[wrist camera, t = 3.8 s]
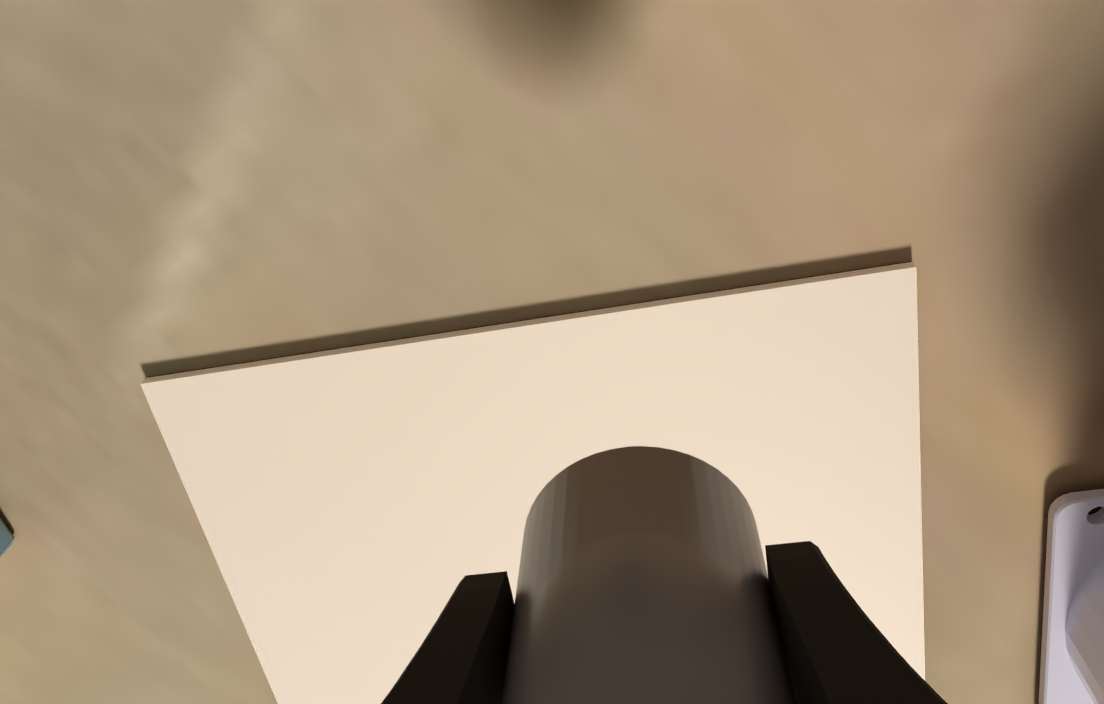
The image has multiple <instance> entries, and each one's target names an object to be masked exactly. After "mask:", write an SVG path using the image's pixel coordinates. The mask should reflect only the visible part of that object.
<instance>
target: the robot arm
mask: <svg viewBox="0 0 1104 704" xmlns="http://www.w3.org/2000/svg"><path fill="white" fill-rule="evenodd" d="M1099 506H1100V507H1101V509H1100V510H1099V511H1098V512H1096V513H1094V514H1091V515H1088V512H1089V511H1091V510H1092V509H1093V508H1096V507H1099ZM765 549H766V560H767V572H768V581H769V586H770V590H771V595H772V599H773V603H774V608H775V612H776V617H777V621H778V626H779V630H780V634H781V638H782V642H783V646H784V650H785V654H786V658H787V662H788V667H789V671H790V676H791V680H792V685H793V689H794V693H795V698H796V702H797V704H947V703H946V702H945V701H944V700H943V699H942V698H941V697H940V696H939V695H938V694H937V693H936V692H935V691H934V690H933V689H932V688H931V687H930V686H929V685H928V684H927V682H926V681H925V680H924V679H923V678H922V677H921V676H920V675H919V674H918V673H917V672H916V671H915V670H914V669H913V668H912V667H911V666H910V665H909V664H908V662H907V661H906V660H905V659H904V658H903V657H902V656H901V655H900V654H899V653H898V652H897V650H896V649H895V648H894V647H893V646H892V645H891V643H890V642H889V641H888V640H887V639H886V637H885V636H884V635H883V634H882V633H881V632H880V630H879V629H878V628H877V627H876V626H875V625H874V623H873V622H872V621H871V620H870V619H869V617H868V616H867V615H866V614H865V612H864V611H863V610H862V609H861V607H860V606H859V605H858V604H857V602H856V601H855V600H854V598H853V597H852V596H851V594H850V593H849V592H848V590H847V589H846V588H845V586H844V585H843V584H842V582H841V581H840V579H839V578H838V577H837V575H836V574H835V572H834V571H833V569H832V568H831V566H830V565H829V563H828V562H827V560H826V559H825V557H824V555H823V554H822V552H821V550H820V549H819V547H818V546H816V545H815V544H814V543H812V542H811V541H804V542H794V543H784V544H774V545H765ZM513 611H514V600H513V596H512V591H511V587H510V583H509V579H508V575H507V571H505V572H495V573H485V574H475V575H465V577H464V578H463V579H462V580H461V581H460V582H459V584H458V586H457V587H456V589H455V591H454V592H453V594H452V596H451V597H450V599H449V601H448V602H447V604H446V606H445V607H444V609H443V611H442V612H441V614H440V616H439V617H438V619H437V621H436V622H435V624H434V626H433V627H432V629H431V630H430V632H429V633H428V635H427V637H426V638H425V640H424V641H423V643H422V645H421V646H420V648H419V649H418V651H417V652H416V654H415V655H414V657H413V658H412V660H411V661H410V663H409V664H408V666H407V667H406V668H405V670H404V671H403V673H402V674H401V676H400V677H399V679H398V680H397V682H396V683H395V685H394V686H393V688H392V689H391V690H390V692H389V693H388V695H387V696H386V697H385V699H384V700H383V701H382V703H381V704H501V702H502V695H503V687H504V680H505V672H506V664H507V657H508V649H509V642H510V634H511V626H512V619H513ZM1039 704H1104V489H1097V490H1089V491H1080V492H1072V493H1068V494H1064V495H1062V496H1060V497H1058V498H1057V499H1055V500H1054V502H1053V503H1052V504H1051V505H1050V508H1049V512H1048V530H1047V549H1046V569H1045V589H1044V608H1043V628H1042V648H1041V668H1040V687H1039Z"/></svg>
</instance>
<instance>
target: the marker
mask: <svg viewBox="0 0 1104 704" xmlns="http://www.w3.org/2000/svg"><path fill="white" fill-rule="evenodd" d="M501 704H797V702H796V698H795V693H794V689H793V685H792V680H791V676H790V671H789V667H788V662H787V658H786V654H785V650H784V646H783V642H782V638H781V634H780V630H779V626H778V621H777V617H776V612H775V608H774V603H773V599H772V595H771V590H770V586H769V581H768V574H767V570H766V565H765V561H764V556H763V552H762V547H761V543H760V539H759V534H758V530H757V525H756V521H755V518H754V515H753V512H752V510H751V508H750V506H749V504H748V502H747V500H746V498H745V497H744V495H743V494H742V493H741V491H740V490H739V488H738V487H737V486H736V485H735V484H734V483H733V482H732V481H731V480H730V479H729V478H728V477H727V476H725V475H724V474H723V473H722V472H720V471H719V470H718V469H716V468H715V467H713V466H711V465H710V464H708V463H706V462H705V461H703V460H700V459H698V458H696V457H694V456H691V455H689V454H685V453H682V452H679V451H676V450H671V449H665V448H660V447H647V446H629V447H622V448H616V449H610V450H606V451H603V452H599V453H595V454H593V455H590V456H588V457H585V458H583V459H581V460H579V461H577V462H575V463H573V464H571V465H570V466H568V467H566V468H565V469H564V470H562V471H561V472H560V473H558V474H557V475H556V476H555V477H554V478H553V479H551V480H550V481H549V482H548V483H547V484H546V485H545V487H544V488H543V489H542V490H541V492H540V493H539V494H538V496H537V497H536V499H535V501H534V503H533V504H532V506H531V509H530V511H529V514H528V516H527V519H526V524H525V529H524V535H523V543H522V551H521V558H520V566H519V573H518V581H517V589H516V596H515V604H514V611H513V619H512V626H511V634H510V642H509V649H508V657H507V664H506V672H505V680H504V687H503V695H502V702H501Z"/></svg>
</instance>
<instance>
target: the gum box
mask: <svg viewBox="0 0 1104 704" xmlns="http://www.w3.org/2000/svg"><path fill="white" fill-rule="evenodd" d="M13 540H14V536H13V534H12V533H11V532H10V530H9V529H8V527H7V526H6V525H5V523H4V522H3V520H2V518H1V516H0V557H1V556H2V554H3V553H4V552H5V551H6V550H7V549H8V548H9V547H10V546H11V544H12V542H13Z"/></svg>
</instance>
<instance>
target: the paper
mask: <svg viewBox="0 0 1104 704" xmlns="http://www.w3.org/2000/svg"><path fill="white" fill-rule="evenodd" d="M140 385H141V387H142V389H143V391H144V394H145V396H146V398H147V401H148V403H149V405H150V408H151V410H152V412H153V415H154V417H155V419H156V422H157V424H158V426H159V429H160V431H161V433H162V436H163V438H164V440H165V443H166V445H167V447H168V450H169V452H170V454H171V456H172V459H173V461H174V463H175V466H176V468H177V470H178V473H179V475H180V477H181V480H182V482H183V484H184V487H185V489H186V491H187V494H188V496H189V498H190V501H191V503H192V505H193V508H194V510H195V512H196V515H197V517H198V519H199V521H200V524H201V526H202V528H203V531H204V533H205V535H206V538H207V540H208V542H209V545H210V547H211V549H212V552H213V554H214V556H215V559H216V561H217V563H218V566H219V568H220V570H221V573H222V575H223V577H224V580H225V582H226V584H227V586H228V589H229V591H230V593H231V596H232V598H233V600H234V603H235V605H236V607H237V610H238V612H239V614H240V617H241V619H242V621H243V624H244V626H245V628H246V631H247V633H248V635H249V638H250V640H251V642H252V644H253V647H254V649H255V651H256V654H257V656H258V658H259V661H260V663H261V665H262V668H263V670H264V672H265V675H266V677H267V679H268V682H269V684H270V686H271V689H272V691H273V693H274V696H275V698H276V700H277V703H278V704H381V703H382V701H383V700H384V699H385V697H386V696H387V695H388V693H389V692H390V690H391V689H392V688H393V686H394V685H395V683H396V682H397V680H398V679H399V677H400V676H401V674H402V673H403V671H404V670H405V668H406V667H407V666H408V664H409V663H410V661H411V660H412V658H413V657H414V655H415V654H416V652H417V651H418V649H419V648H420V646H421V645H422V643H423V641H424V640H425V638H426V637H427V635H428V633H429V632H430V630H431V629H432V627H433V626H434V624H435V622H436V621H437V619H438V617H439V616H440V614H441V612H442V611H443V609H444V607H445V606H446V604H447V602H448V601H449V599H450V597H451V596H452V594H453V592H454V591H455V589H456V587H457V586H458V584H459V582H460V581H461V580H462V579H463V578H464V577H465V575H475V574H485V573H495V572H505V571H507V575H508V579H509V583H510V587H511V591H512V596H513V600H514V604H515V596H516V589H517V581H518V573H519V566H520V558H521V551H522V543H523V535H524V529H525V524H526V519H527V516H528V514H529V511H530V509H531V506H532V504H533V503H534V501H535V499H536V497H537V496H538V494H539V493H540V492H541V490H542V489H543V488H544V487H545V485H546V484H547V483H548V482H549V481H550V480H551V479H553V478H554V477H555V476H556V475H557V474H558V473H560V472H561V471H562V470H564V469H565V468H566V467H568V466H570V465H571V464H573V463H575V462H577V461H579V460H581V459H583V458H585V457H588V456H590V455H593V454H595V453H599V452H603V451H606V450H610V449H616V448H622V447H629V446H647V447H660V448H665V449H671V450H676V451H679V452H682V453H685V454H689V455H691V456H694V457H696V458H698V459H700V460H703V461H705V462H706V463H708V464H710V465H711V466H713V467H715V468H716V469H718V470H719V471H720V472H722V473H723V474H724V475H725V476H727V477H728V478H729V479H730V480H731V481H732V482H733V483H734V484H735V485H736V486H737V487H738V488H739V490H740V491H741V493H742V494H743V495H744V497H745V498H746V500H747V502H748V504H749V506H750V508H751V510H752V512H753V515H754V518H755V521H756V525H757V530H758V534H759V539H760V543H761V547H762V552H763V556H764V561H765V565H766V570H767V560H766V549H765V545H774V544H784V543H794V542H804V541H811V542H812V543H814V544H815V545H816V546H818V547H819V549H820V550H821V552H822V554H823V555H824V557H825V559H826V560H827V562H828V563H829V565H830V566H831V568H832V569H833V571H834V572H835V574H836V575H837V577H838V578H839V579H840V581H841V582H842V584H843V585H844V586H845V588H846V589H847V590H848V592H849V593H850V594H851V596H852V597H853V598H854V600H855V601H856V602H857V604H858V605H859V606H860V607H861V609H862V610H863V611H864V612H865V614H866V615H867V616H868V617H869V619H870V620H871V621H872V622H873V623H874V625H875V626H876V627H877V628H878V629H879V630H880V632H881V633H882V634H883V635H884V636H885V637H886V639H887V640H888V641H889V642H890V643H891V645H892V646H893V647H894V648H895V649H896V650H897V652H898V653H899V654H900V655H901V656H902V657H903V658H904V659H905V660H906V661H907V662H908V664H909V665H910V666H911V667H912V668H913V669H914V670H915V671H916V672H917V673H918V674H919V675H920V676H921V677H922V678H923V679H924V680H925V655H924V607H923V559H922V511H921V463H920V415H919V367H918V319H917V271H916V266H915V265H914V263H913V262H908V263H901V264H895V265H888V266H882V267H875V268H868V269H862V270H855V271H849V272H842V273H835V274H829V275H822V276H816V277H809V278H802V279H796V280H789V281H783V282H776V283H769V284H763V285H756V286H750V287H743V288H736V289H730V290H723V291H717V292H710V293H703V294H697V295H690V296H684V297H677V298H670V299H664V300H657V301H651V302H644V303H637V304H631V305H624V306H618V307H611V308H604V309H598V310H591V311H585V312H578V313H571V314H565V315H558V316H552V317H545V318H539V319H532V320H525V321H519V322H512V323H506V324H499V325H492V326H486V327H479V328H473V329H466V330H459V331H453V332H446V333H440V334H433V335H426V336H420V337H413V338H407V339H400V340H393V341H387V342H380V343H374V344H367V345H360V346H354V347H347V348H341V349H334V350H327V351H321V352H314V353H308V354H301V355H294V356H288V357H281V358H275V359H268V360H261V361H255V362H248V363H242V364H235V365H228V366H222V367H215V368H209V369H202V370H196V371H189V372H182V373H176V374H169V375H163V376H156V377H149V378H145V379H144V380H143V382H142V383H141V384H140ZM767 574H768V572H767Z"/></svg>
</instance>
